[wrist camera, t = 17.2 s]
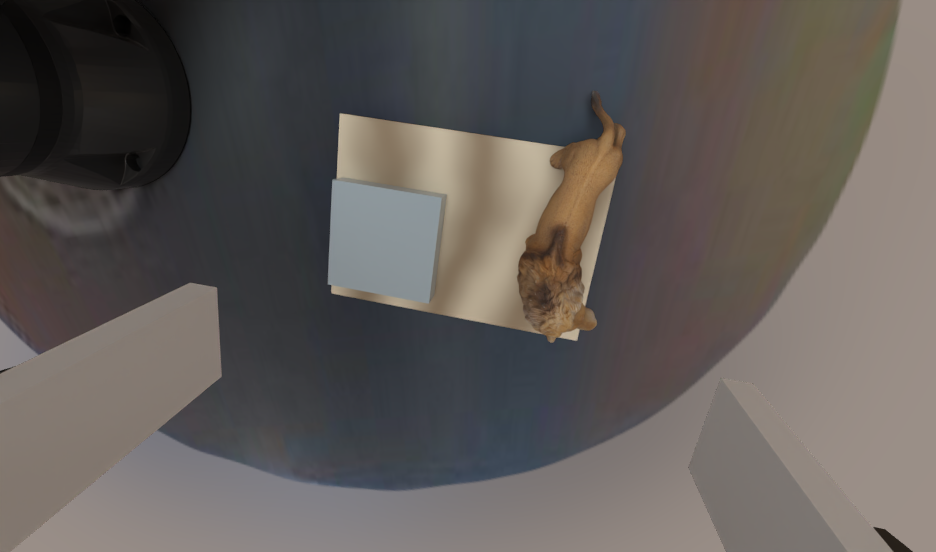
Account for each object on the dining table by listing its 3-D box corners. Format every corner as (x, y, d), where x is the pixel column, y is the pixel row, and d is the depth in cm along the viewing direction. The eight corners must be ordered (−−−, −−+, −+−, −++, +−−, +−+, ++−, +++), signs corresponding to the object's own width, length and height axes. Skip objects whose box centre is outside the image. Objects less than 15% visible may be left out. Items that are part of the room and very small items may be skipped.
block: (343, 177, 35) (337, 276, 37) (332, 179, 33) (327, 284, 36) (447, 194, 34) (434, 295, 37) (441, 197, 32) (429, 303, 35)
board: (336, 289, 39) (331, 293, 38) (345, 113, 34) (339, 113, 33) (576, 335, 37) (576, 340, 36) (618, 154, 32) (620, 155, 31)
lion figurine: (583, 304, 35) (596, 360, 26) (513, 291, 35) (503, 342, 27) (632, 96, 30) (667, 84, 22) (551, 85, 31) (554, 69, 22)
